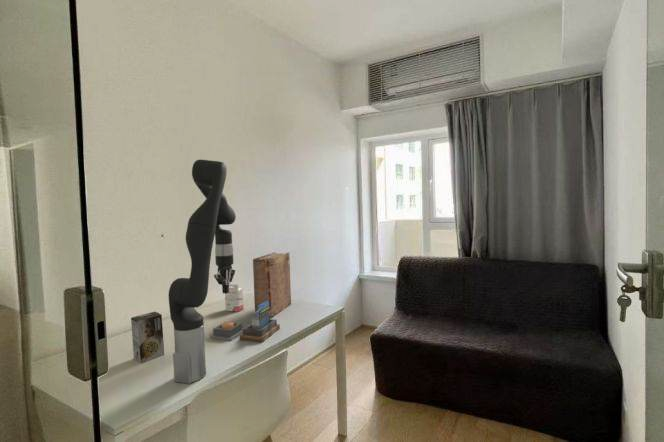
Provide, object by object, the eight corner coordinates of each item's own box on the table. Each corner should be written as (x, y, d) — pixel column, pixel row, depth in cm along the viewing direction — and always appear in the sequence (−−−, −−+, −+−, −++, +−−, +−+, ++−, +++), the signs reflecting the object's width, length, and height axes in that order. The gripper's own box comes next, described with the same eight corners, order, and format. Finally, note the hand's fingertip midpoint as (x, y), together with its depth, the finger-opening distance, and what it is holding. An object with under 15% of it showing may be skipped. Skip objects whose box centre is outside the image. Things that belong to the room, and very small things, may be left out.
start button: (229, 333, 151) (229, 325, 151) (219, 332, 153) (219, 325, 152) (236, 329, 156) (235, 322, 156) (226, 328, 158) (225, 321, 157)
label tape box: (261, 326, 158) (260, 299, 158) (269, 326, 157) (268, 299, 157) (251, 333, 150) (250, 304, 149) (260, 333, 149) (259, 305, 148)
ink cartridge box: (244, 309, 192) (242, 282, 192) (239, 311, 188) (237, 284, 187) (230, 308, 195) (229, 282, 194) (225, 310, 190) (224, 284, 189)
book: (276, 303, 202) (274, 252, 200) (291, 304, 199) (289, 252, 198) (254, 317, 178) (252, 259, 176) (271, 318, 175) (269, 259, 173)
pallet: (262, 342, 145) (262, 331, 144) (239, 339, 148) (239, 329, 148) (279, 328, 160) (279, 319, 160) (258, 326, 163) (258, 317, 163)
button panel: (231, 340, 147) (231, 331, 147) (209, 338, 151) (209, 329, 151) (245, 331, 158) (245, 322, 158) (224, 329, 161) (224, 320, 161)
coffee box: (157, 350, 139) (155, 311, 138) (164, 354, 135) (162, 313, 134) (132, 358, 132) (130, 317, 131) (140, 363, 128) (137, 320, 127)
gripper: (222, 256, 145) (224, 297, 146) (240, 252, 158) (241, 289, 159) (207, 256, 147) (209, 296, 148) (225, 251, 160) (227, 289, 161)
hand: (225, 293), depth 153 cm, fingers closed
